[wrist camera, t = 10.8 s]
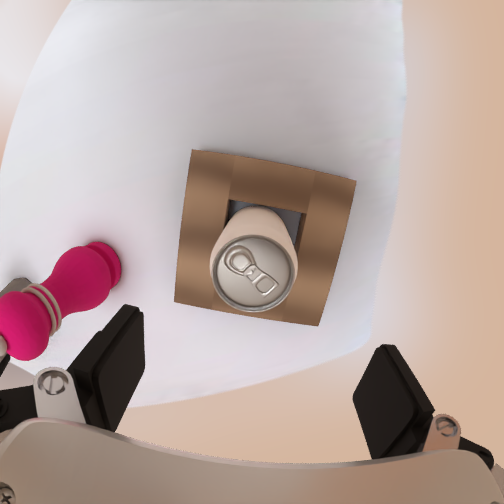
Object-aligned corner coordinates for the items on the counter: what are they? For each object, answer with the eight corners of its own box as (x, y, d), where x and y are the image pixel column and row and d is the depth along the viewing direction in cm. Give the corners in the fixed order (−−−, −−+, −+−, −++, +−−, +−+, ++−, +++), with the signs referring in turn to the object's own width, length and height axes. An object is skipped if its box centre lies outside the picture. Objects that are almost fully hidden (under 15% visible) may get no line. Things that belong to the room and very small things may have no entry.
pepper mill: (134, 262, 32) (26, 360, 13) (110, 302, 33) (20, 401, 14) (92, 225, 31) (-34, 288, 11) (72, 268, 32) (-33, 342, 13)
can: (256, 192, 29) (253, 207, 18) (298, 235, 30) (320, 276, 19) (213, 234, 31) (185, 274, 19) (255, 274, 32) (252, 333, 20)
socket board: (198, 151, 28) (191, 149, 25) (347, 179, 28) (356, 180, 26) (180, 290, 33) (174, 302, 30) (313, 313, 33) (318, 326, 30)
